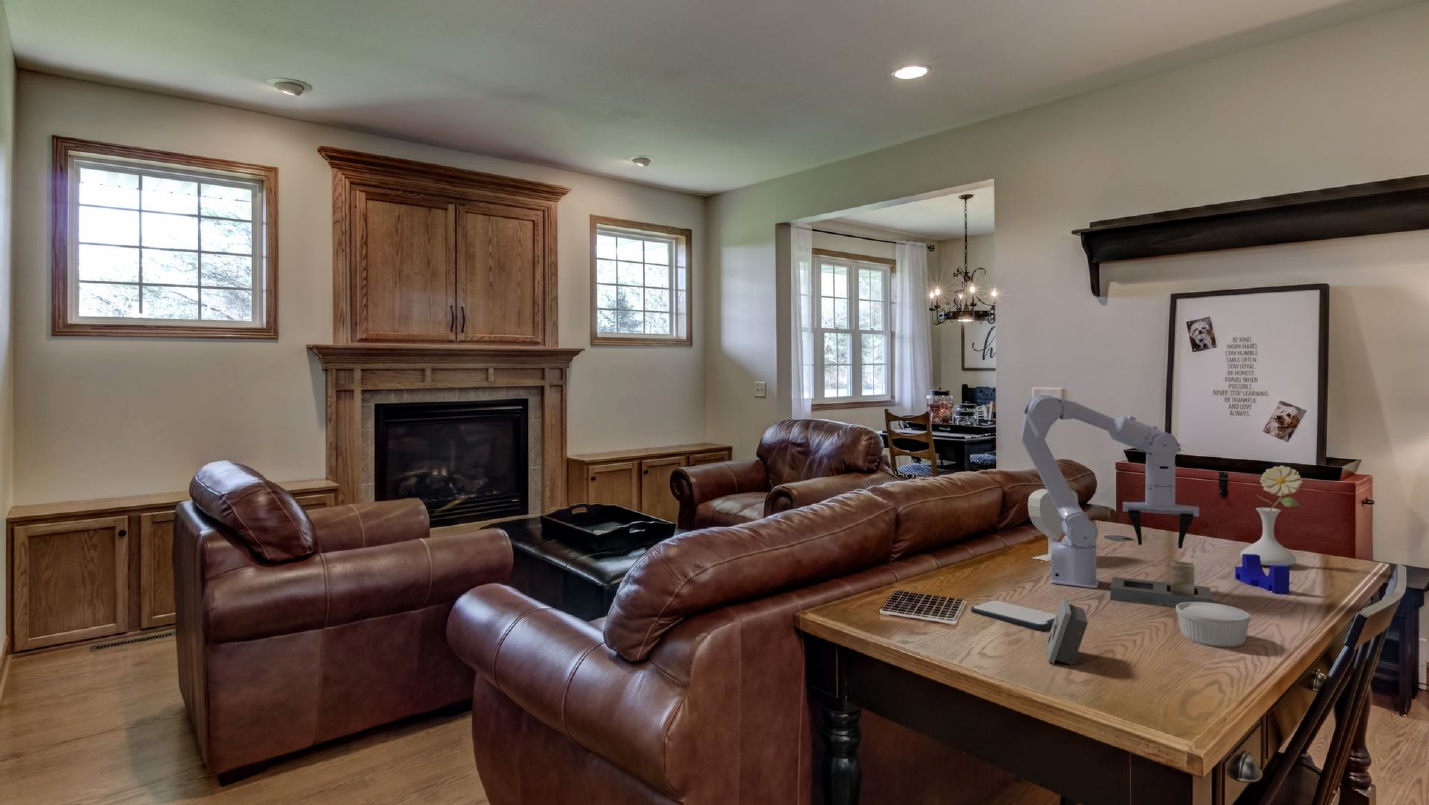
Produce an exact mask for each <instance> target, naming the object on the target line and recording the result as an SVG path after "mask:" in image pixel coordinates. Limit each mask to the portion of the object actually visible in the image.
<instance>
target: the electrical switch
mask: <svg viewBox="0 0 1429 805" xmlns="http://www.w3.org/2000/svg"><path fill="white" fill-rule="evenodd" d="M1057 608H1058V609H1057V610H1056V613H1055V614H1056V616H1055V619H1054V622H1053V625H1052V628H1051V629H1050V631H1049V635H1048V637H1047V641H1046V651H1047V661H1048V662H1049V663H1050V664H1052V665H1055V661H1058V662H1060V663H1065V664H1067V665H1070V666H1074V664H1075V661H1076V658H1077V656H1078V653H1079V650H1080V647H1081V644H1082V640H1083V638H1084V635H1085V632H1086V629H1087V627H1088V623H1089V622H1088V619H1087V615H1086V611H1085V609H1084V608H1082V607H1081V608H1080V607H1078V606H1075V605H1074V604H1070V602H1069V598H1066V597H1062V598H1061V600H1060V603H1059V605H1058V607H1057Z"/></svg>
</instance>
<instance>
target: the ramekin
mask: <svg viewBox="0 0 1429 805" xmlns="http://www.w3.org/2000/svg"><path fill="white" fill-rule="evenodd" d="M1175 612H1176V614H1177V618H1178V619H1177V620H1178V624H1179V625H1178V626H1179V629H1180V632H1181V635H1183V637H1184V638H1186V639H1188V640H1189V641H1192V642H1195V643H1198V644H1201V645H1206V646H1211V647H1218V648H1220V647H1221V648H1235V647H1240V646H1241V645H1242V644H1244V643H1245V641H1246V639H1247V634H1248V628H1249V624H1250V622H1251V615H1250V614H1249V613H1248V612H1247V611H1245V610H1244V609H1240V608H1237V607H1235V606H1230V605H1226V604H1221V603H1215V602H1212V603H1206V602H1185V603H1180V604H1178V605H1176V607H1175Z"/></svg>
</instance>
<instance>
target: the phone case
mask: <svg viewBox="0 0 1429 805" xmlns="http://www.w3.org/2000/svg"><path fill="white" fill-rule="evenodd" d="M970 611H971V613H973V614H976V615H979V616H982V617H983V616H984V617H986V618H989V619H994V620H997V621H1000V622H1005V623H1009V624H1012V625H1015V626H1017V627H1023V628H1024V629H1025V628H1026V629H1029V630H1034V631H1036V632H1047V631H1049V630H1050V631H1051V628H1052V625H1053V622H1054V619H1055V616H1056V613H1051V612H1046V611H1044V610H1043V611H1042V610H1038V609H1033V608H1031V607H1030V608H1029V607H1025V606H1021V605H1016V604H1013V603H1009V602H1004V601H1000V600H995V599H994V600H988V601H985V602H982V603H979V604H976V605H972V606H971V609H970Z"/></svg>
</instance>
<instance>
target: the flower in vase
mask: <svg viewBox="0 0 1429 805" xmlns="http://www.w3.org/2000/svg"><path fill="white" fill-rule="evenodd" d="M1301 477H1302V476H1301V475H1300V473H1299V471H1297V470H1296V469H1293V468H1291V467H1289V466H1284V465H1280V466H1276V465H1275V466H1273V467H1272V468H1267V469H1266V470H1265V472H1263V473H1262V476H1260V481H1259V482H1260V484H1261V486H1262V487H1263V491H1266V492H1268V493H1270V494H1271V495H1275V496H1278V497H1279V498H1278V499H1277V501H1276V502H1274V503H1272V502H1271V501H1270V500H1268V499H1266V498H1263V497H1261V496H1260V495H1258V494H1256V493H1255V494H1256V496H1257V497H1258V498H1259V499H1261V500H1263V501H1265V502H1266V503H1269V504H1272V506H1271V507H1256V508H1255V510H1256V511H1257V512H1258V513H1259V515H1260V518H1261V523H1262V534H1261V537H1260V539H1258V540H1257V541H1256V542H1254V543H1252V544H1251V545H1248V546H1247V547H1245V548H1244V549H1243V550H1241V552H1240V554H1239V555H1240V557H1241V558H1242V554H1257V555H1260V561H1261V566H1269V567H1270V565H1285V566H1288V567H1290V566H1293V565H1295V564H1296V563H1297V561H1298V560H1297V557H1296V556H1295V555H1294V554H1293V553H1292V552H1291V551H1289V549H1287V548H1286V547H1284V546H1283V545H1282V544H1281V543H1279V542H1278V541H1277V539H1276V537H1275V524H1276V523H1275V522H1276V518H1277V517H1278V515H1279V513H1280V512H1282V510H1281V508H1280V509H1279V508H1275V506H1276V505H1278V503H1279V502H1280V503H1282V505H1283V506H1284V507H1288V508H1291V507H1301V506H1302V505H1301V504H1300V503H1299V501H1298V500H1296V499H1295V498H1294V497H1292V496H1287V497H1284V496H1286V495H1292V494H1294V493H1296V492H1297V491H1298V490H1299V488H1300V487H1301V485H1302V483H1303V479H1302V478H1301ZM1282 497H1283V498H1282Z"/></svg>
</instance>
